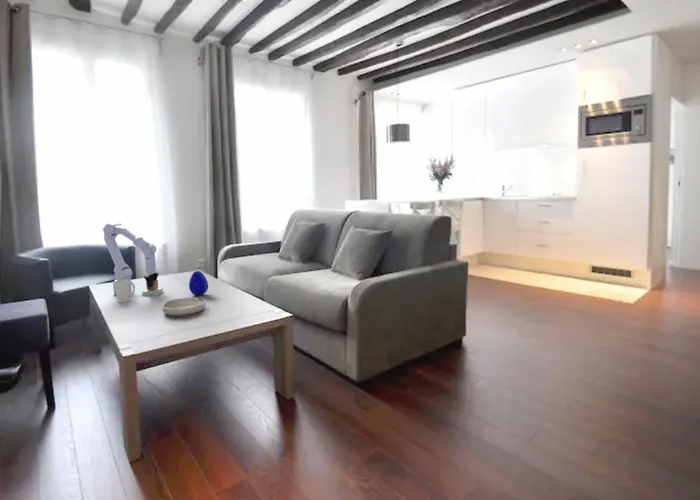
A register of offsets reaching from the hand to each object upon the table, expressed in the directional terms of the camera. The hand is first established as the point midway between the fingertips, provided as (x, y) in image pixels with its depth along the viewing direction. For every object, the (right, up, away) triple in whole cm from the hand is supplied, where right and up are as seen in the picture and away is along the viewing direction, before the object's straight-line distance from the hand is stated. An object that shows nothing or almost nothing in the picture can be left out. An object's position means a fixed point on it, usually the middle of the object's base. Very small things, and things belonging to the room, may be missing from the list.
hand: (152, 286), depth 263 cm
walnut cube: (0, -2, 0) cm, 2 cm away
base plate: (0, -5, +1) cm, 5 cm away
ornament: (+30, -5, -4) cm, 31 cm away
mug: (-8, -7, -14) cm, 18 cm away
